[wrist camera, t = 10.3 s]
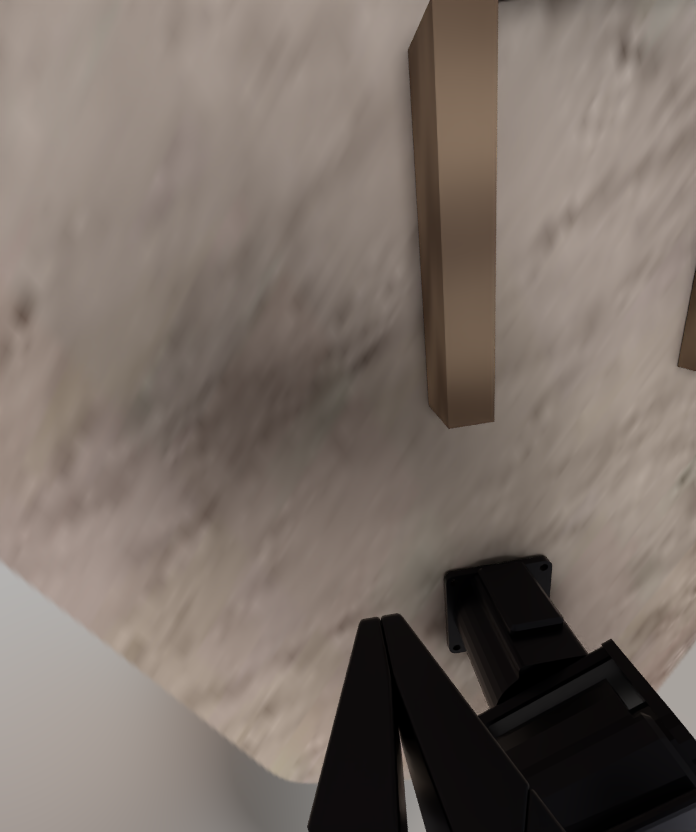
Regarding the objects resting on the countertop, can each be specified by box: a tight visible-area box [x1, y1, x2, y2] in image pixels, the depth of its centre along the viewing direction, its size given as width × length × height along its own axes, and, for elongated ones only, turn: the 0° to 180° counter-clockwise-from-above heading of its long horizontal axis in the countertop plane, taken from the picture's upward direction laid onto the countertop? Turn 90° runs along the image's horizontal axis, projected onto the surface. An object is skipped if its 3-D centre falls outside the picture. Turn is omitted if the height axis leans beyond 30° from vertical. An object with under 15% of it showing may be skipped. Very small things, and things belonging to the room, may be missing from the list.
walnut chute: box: [408, 0, 696, 429], centre depth 16 cm, size 14×15×3 cm
